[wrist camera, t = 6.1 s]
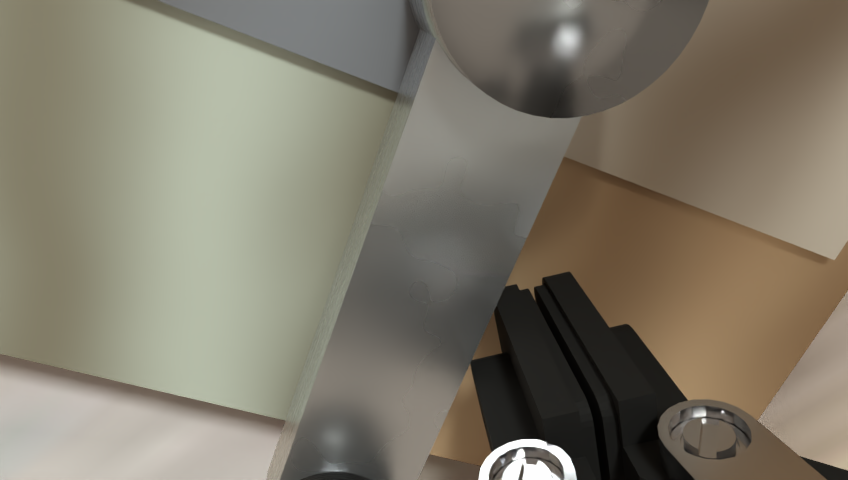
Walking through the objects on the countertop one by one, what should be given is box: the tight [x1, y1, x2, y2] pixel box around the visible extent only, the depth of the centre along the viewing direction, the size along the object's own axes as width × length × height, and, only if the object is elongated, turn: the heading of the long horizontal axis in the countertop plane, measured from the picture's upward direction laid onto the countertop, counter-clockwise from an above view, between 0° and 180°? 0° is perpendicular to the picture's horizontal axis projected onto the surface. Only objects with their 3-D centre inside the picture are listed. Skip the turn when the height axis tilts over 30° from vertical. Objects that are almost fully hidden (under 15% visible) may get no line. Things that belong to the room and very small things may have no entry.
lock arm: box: [266, 0, 709, 480], centre depth 10 cm, size 13×4×4 cm, turn 160°
